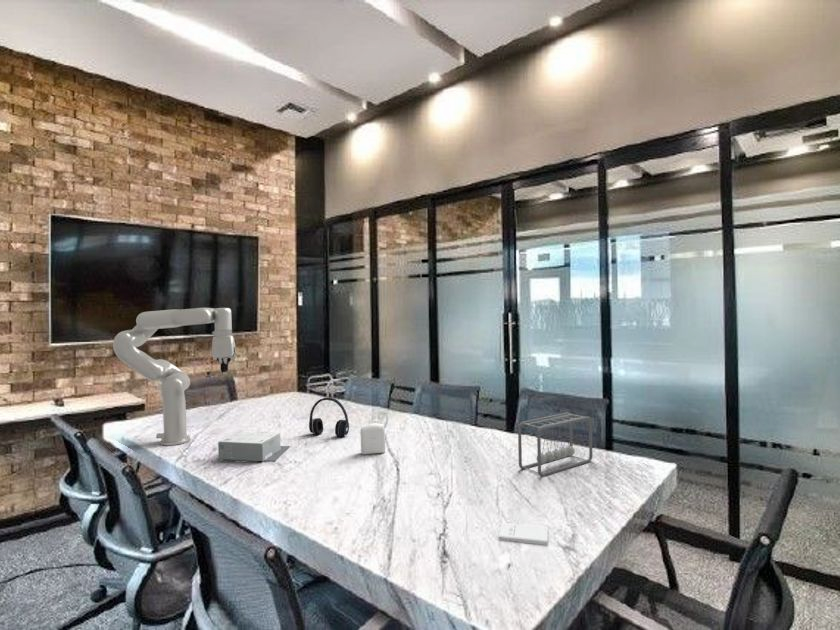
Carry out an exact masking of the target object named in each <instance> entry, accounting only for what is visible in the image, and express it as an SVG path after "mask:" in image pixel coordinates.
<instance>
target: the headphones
mask: <svg viewBox="0 0 840 630" xmlns="http://www.w3.org/2000/svg"><path fill="white" fill-rule="evenodd" d="M322 401H330V402H334V403H336V405H338V407H340V409H341V410H342V413H343V415H344V419H339V420H337V421H336V424H335V428H334V434H335V436H336V437H340V438H343V437H345V436H346V435H348V434H349V431H350V423H349V418H348V412H347V411H346V409H345V407H344V405H343V404H342V402H340V401H339V400H338V399H337V398H334V397H322V398H320V399H319V400H317V401H316V402H315V403H314V404H313V406H312V407H311V409H310V413H309V422H308V429H309V430H308V431H309V432H310V433H312V434H313V436H318V435H322V433H323V432H324V422H323V420H322V418H320V417H318V418H317V417H315V418H314V417H313V416H314V410H315V408H316V407H317V405H319V403H321V402H322Z"/></svg>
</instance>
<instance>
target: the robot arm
mask: <svg viewBox="0 0 840 630" xmlns="http://www.w3.org/2000/svg"><path fill="white" fill-rule="evenodd" d="M232 320H233V319H232V309H231V308H230V307H218V308H213V307H197V308H196V307H195V308H185V309H184V308H183V309H164V310H163V309H162V310H151V311H143V312H140V313H139V314H138V315H137V317H136V320H135V322H136V325H135V326H134V327H133V328H132V329H127V330H122V331H120V332H118V333H117V334H116V336H114V339H113V341H112V342H113V343H112V349H113V352H114V354H115V355H116V357H117V358H118V359H119V360H120V361H121V362H123V363H124V364H126V365H127V366H128V367H130V368H131V369H133V370H134V371H135V372H137V373H138V374H140V375H141V376H143V377H144V378H145V379H146V380H149V381H150V382H157V381H161V384H160V385H161V386H160V393H161V398H162V399H161V400H162V415H163V416H162V418H163V419H162V421H163V432H159V433H156V434H155V435H156V436H155V438H156V439H161V440H160V441H159V444H160V445H162V446H176V445H181V444H185V443H189V441H191V437H190V436H189V435H187V432H188V431H187V408H186V407H187V402H186V395H185V391H186V390H188V388H189V387H190V385H191V379H190V377H189V375H188V374H187V373H186V372H184V371H182V370H181V369H180V368H179V367H177V366H175V365H174V364H173V363H171V362H170V361H168V360H165V359H161V358H160V359H154V358H153V357H151V355H148V354H147V353H146V352H144V351H142V350H141V349H139V347H141V346H143V345H144V344H145V343H146V342H147V341H148V340H149V339H150V338H151V337H152V336H153V335H154V334H155V332H157V331H158V330H159V329H161V330H163V329H171V328H179V327H183V326H194V325H195V326H196V325H205V324H212V323H213V324H214V331H212V332H211V333H212V335H214V336H213V337H212V340H211V341H212V342H211V357H212V360H213V361H217V362H218V363H219V365H220V372H221V373H227V372H228V371H229V364H230V362H231V361H232V360H235V359H236V358H237V357H236V342H235V337H234V335H233V328H232V327H233V326H232V325H233V324H232V322H233V321H232Z"/></svg>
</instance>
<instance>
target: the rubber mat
mask: <svg viewBox="0 0 840 630" xmlns="http://www.w3.org/2000/svg"><path fill="white" fill-rule="evenodd" d="M289 448H291V445H281V450H280V451H278V452H277V453H275V454H274V455H272V456H271V457H269V458H267V459H266V460H264V461H273V462H277V460H278V459H279V458H280V457H282V455H283V454H284V453H286V452H287V450H289ZM232 461H233V462H232ZM234 461H235V462H234ZM236 461H240V462H239V463H242V462H241V461H243V460H221V463H237V462H236Z"/></svg>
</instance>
